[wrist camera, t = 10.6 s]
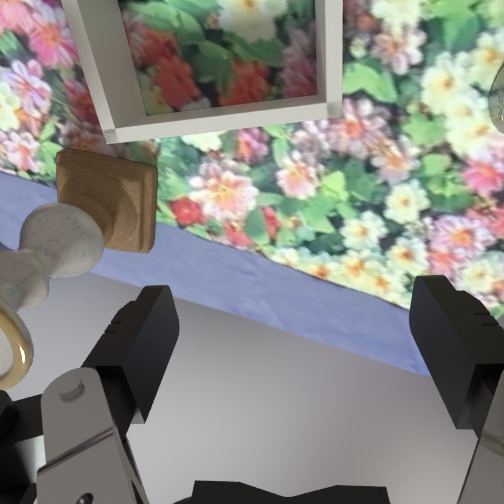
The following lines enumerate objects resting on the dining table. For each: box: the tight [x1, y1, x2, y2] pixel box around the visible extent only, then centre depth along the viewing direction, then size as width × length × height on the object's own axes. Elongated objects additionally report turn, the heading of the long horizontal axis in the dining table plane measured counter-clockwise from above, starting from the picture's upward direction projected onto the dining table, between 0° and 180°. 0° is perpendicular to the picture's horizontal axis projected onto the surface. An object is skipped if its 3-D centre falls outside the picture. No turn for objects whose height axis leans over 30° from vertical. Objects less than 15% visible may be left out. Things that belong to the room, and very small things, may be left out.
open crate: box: [61, 0, 343, 144], centre depth 29 cm, size 20×13×8 cm, turn 97°
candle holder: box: [0, 148, 158, 390], centre depth 31 cm, size 11×11×24 cm
